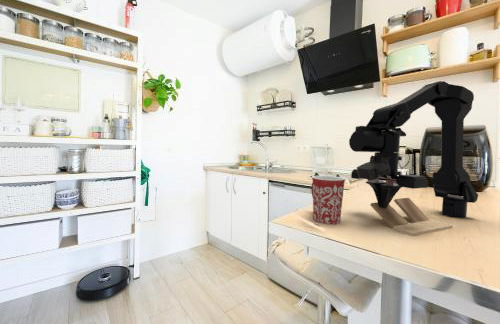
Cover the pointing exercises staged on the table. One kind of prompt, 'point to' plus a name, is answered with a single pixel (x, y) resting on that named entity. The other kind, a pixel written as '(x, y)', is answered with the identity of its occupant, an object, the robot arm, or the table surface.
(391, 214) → the plank
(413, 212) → the plank
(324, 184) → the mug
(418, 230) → the underlay base
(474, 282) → the table surface
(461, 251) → the table surface
